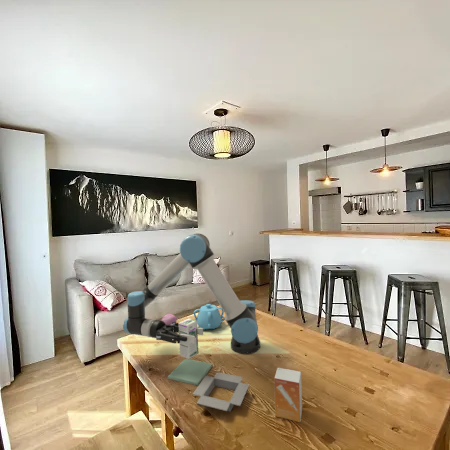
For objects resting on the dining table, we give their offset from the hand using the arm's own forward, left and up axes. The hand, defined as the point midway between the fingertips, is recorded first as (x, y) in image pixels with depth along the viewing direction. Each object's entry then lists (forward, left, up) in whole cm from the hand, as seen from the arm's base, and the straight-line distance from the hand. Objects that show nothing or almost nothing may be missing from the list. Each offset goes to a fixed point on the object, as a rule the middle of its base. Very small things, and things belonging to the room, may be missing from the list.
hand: (198, 335), depth 106 cm
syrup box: (+4, -2, -9) cm, 10 cm away
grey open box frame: (-7, +16, -17) cm, 24 cm away
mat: (+4, -2, -17) cm, 17 cm away
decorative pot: (-8, -47, -17) cm, 51 cm away
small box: (-28, +28, -17) cm, 43 cm away
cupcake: (+16, -46, -17) cm, 52 cm away
